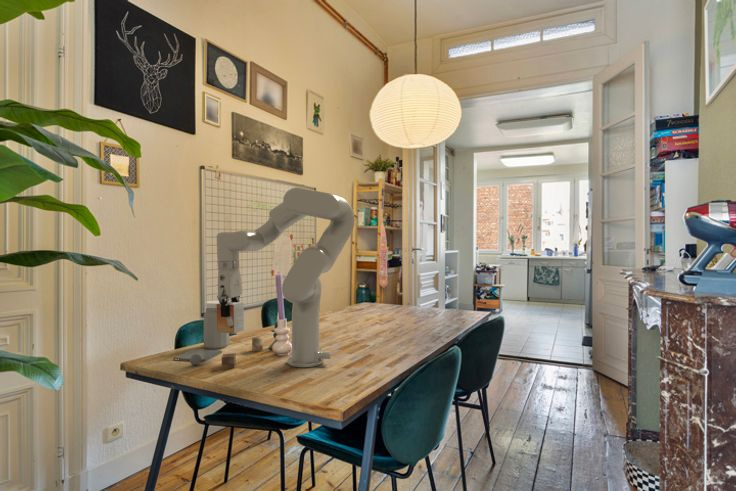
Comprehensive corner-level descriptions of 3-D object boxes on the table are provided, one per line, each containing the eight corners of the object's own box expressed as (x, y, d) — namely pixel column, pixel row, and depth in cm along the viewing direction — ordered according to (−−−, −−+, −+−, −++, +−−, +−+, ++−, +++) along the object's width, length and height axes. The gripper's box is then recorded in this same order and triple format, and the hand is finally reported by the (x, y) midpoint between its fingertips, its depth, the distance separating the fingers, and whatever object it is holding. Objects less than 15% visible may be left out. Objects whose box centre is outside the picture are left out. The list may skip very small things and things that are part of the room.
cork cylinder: (264, 349, 160) (264, 336, 160) (260, 352, 156) (260, 339, 156) (254, 349, 160) (254, 336, 160) (250, 351, 156) (250, 338, 156)
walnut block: (235, 365, 140) (235, 353, 140) (234, 368, 136) (234, 356, 136) (223, 365, 139) (223, 354, 139) (221, 369, 135) (221, 357, 135)
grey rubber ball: (203, 363, 141) (203, 353, 141) (197, 366, 137) (197, 356, 137) (193, 363, 141) (193, 352, 141) (187, 366, 138) (187, 355, 138)
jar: (217, 350, 158) (218, 304, 157) (197, 348, 161) (197, 302, 161) (234, 344, 167) (234, 300, 167) (215, 342, 170) (215, 299, 170)
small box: (216, 332, 148) (215, 303, 148) (227, 329, 153) (226, 301, 153) (234, 333, 145) (233, 304, 145) (244, 330, 150) (243, 301, 150)
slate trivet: (221, 352, 155) (221, 350, 155) (204, 361, 143) (204, 359, 143) (192, 351, 157) (192, 349, 157) (173, 360, 145) (173, 357, 145)
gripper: (226, 267, 140) (228, 319, 140) (248, 264, 157) (250, 311, 157) (206, 267, 141) (208, 319, 141) (230, 265, 158) (231, 311, 158)
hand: (230, 314), depth 149 cm, fingers closed on small box, 6 cm apart
